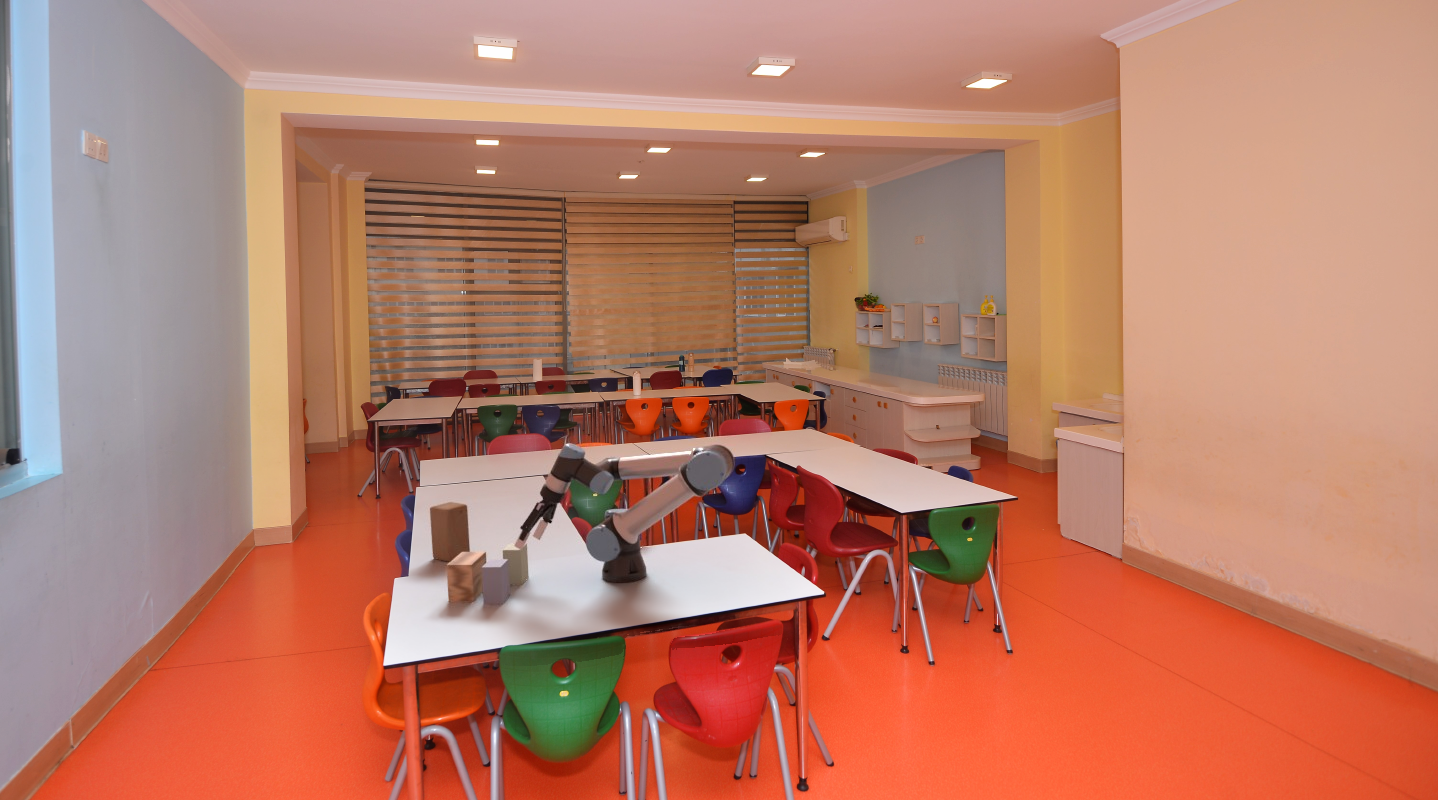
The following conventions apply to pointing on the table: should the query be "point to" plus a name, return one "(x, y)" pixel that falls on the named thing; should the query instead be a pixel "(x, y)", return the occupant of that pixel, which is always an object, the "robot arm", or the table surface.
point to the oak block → (465, 576)
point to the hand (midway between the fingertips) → (527, 542)
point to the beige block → (516, 563)
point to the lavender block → (495, 582)
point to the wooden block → (449, 530)
